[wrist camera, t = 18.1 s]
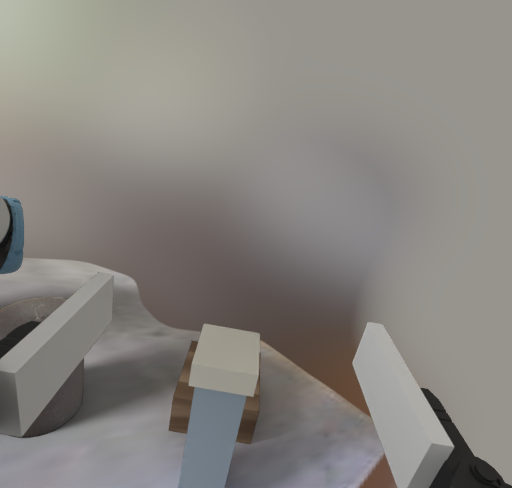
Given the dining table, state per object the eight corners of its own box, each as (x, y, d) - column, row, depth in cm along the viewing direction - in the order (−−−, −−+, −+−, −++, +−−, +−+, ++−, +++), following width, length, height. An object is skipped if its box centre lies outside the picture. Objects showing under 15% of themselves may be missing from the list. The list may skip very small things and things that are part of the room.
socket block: (250, 443, 42) (259, 411, 40) (168, 430, 42) (173, 396, 40) (253, 381, 52) (260, 352, 50) (187, 370, 52) (192, 340, 50)
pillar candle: (-24, 440, 36) (-40, 334, 31) (18, 375, 45) (11, 283, 40) (70, 437, 39) (70, 338, 33) (93, 376, 47) (95, 290, 42)
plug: (221, 524, 33) (258, 375, 26) (168, 516, 33) (191, 363, 26) (227, 469, 38) (259, 333, 31) (181, 462, 38) (204, 323, 31)
